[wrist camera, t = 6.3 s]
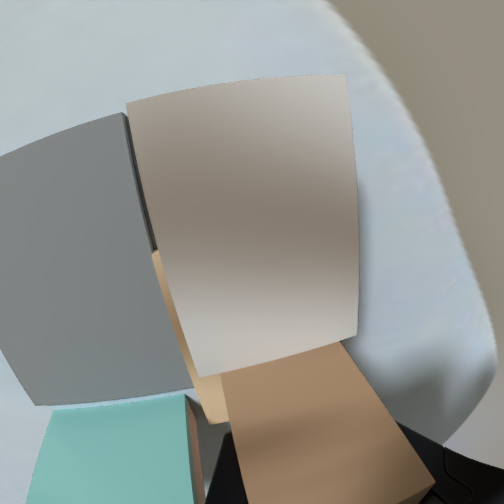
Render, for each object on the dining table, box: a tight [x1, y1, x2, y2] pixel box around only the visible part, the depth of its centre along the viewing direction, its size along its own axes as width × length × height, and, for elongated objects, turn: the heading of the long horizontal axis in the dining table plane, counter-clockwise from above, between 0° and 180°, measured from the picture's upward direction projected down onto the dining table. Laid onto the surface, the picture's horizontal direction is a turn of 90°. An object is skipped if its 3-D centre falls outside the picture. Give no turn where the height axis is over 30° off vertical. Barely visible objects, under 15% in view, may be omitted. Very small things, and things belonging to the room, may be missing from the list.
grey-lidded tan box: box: [126, 75, 435, 504], centre depth 5 cm, size 11×4×5 cm, turn 9°
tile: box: [26, 394, 206, 504], centre depth 8 cm, size 2×6×6 cm, turn 100°
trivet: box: [0, 112, 194, 406], centre depth 8 cm, size 9×7×1 cm
